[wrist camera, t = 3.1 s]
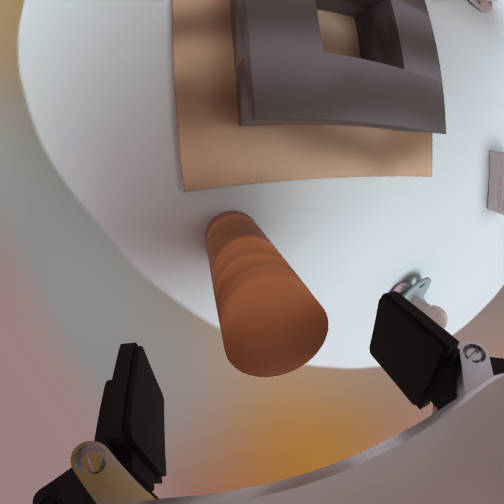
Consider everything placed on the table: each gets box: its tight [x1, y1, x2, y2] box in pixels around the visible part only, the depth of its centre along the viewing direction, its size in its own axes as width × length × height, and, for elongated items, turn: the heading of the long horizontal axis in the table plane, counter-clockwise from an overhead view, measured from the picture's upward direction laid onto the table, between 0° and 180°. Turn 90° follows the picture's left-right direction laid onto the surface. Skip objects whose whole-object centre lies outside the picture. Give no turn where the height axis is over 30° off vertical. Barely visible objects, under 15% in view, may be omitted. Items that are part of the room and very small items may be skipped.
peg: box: [205, 211, 328, 377], centre depth 15 cm, size 4×4×12 cm
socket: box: [173, 0, 446, 192], centre depth 14 cm, size 22×22×6 cm
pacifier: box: [393, 277, 447, 329], centre depth 25 cm, size 7×6×6 cm
